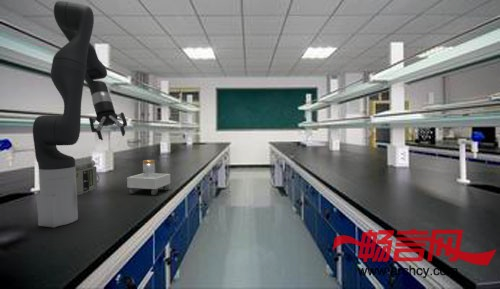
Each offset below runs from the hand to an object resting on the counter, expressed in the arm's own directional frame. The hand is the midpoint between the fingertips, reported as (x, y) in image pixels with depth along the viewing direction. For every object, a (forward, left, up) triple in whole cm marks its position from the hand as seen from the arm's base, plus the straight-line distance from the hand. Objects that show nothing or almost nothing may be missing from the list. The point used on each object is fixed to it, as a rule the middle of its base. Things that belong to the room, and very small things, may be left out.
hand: (112, 137), depth 115 cm
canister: (+7, -12, -21) cm, 25 cm away
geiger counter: (0, +17, -25) cm, 31 cm away
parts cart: (+7, -13, -25) cm, 29 cm away
